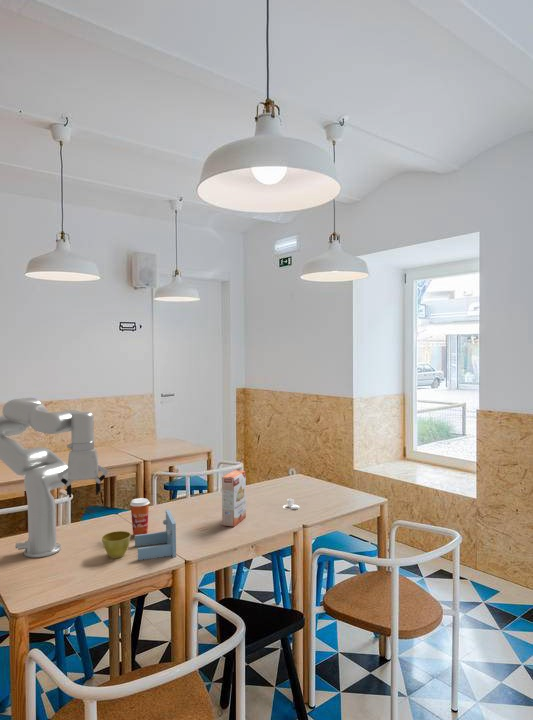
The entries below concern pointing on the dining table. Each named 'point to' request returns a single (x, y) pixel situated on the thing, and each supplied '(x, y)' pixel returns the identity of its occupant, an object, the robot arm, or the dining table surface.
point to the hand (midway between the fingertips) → (83, 495)
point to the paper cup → (139, 515)
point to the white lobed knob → (291, 504)
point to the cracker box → (233, 498)
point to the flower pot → (116, 543)
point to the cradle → (158, 541)
